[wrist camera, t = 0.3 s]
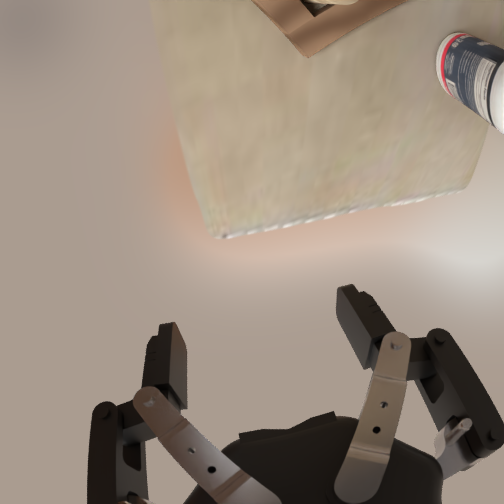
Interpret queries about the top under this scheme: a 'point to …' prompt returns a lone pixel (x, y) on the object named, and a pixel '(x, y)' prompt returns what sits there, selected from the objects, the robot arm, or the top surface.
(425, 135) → the top surface
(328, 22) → the walnut board
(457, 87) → the supplement tub
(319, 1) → the birch peg
